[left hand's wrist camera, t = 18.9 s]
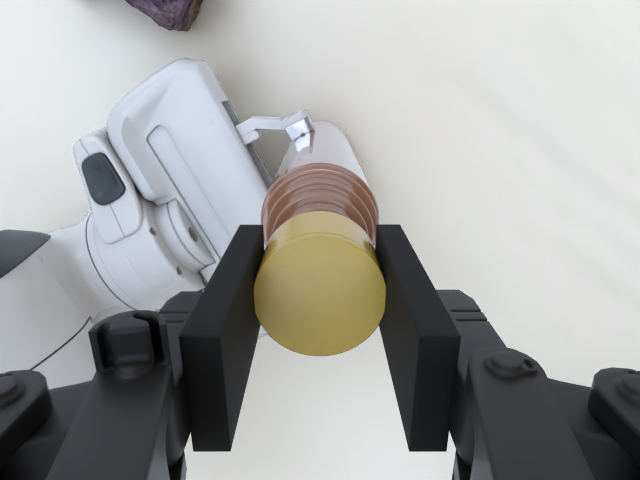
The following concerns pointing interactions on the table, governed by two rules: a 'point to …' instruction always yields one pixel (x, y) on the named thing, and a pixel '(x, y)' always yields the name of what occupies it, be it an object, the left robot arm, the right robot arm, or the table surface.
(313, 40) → the table surface
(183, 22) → the rock
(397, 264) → the left robot arm
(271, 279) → the cap
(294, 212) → the bottle
